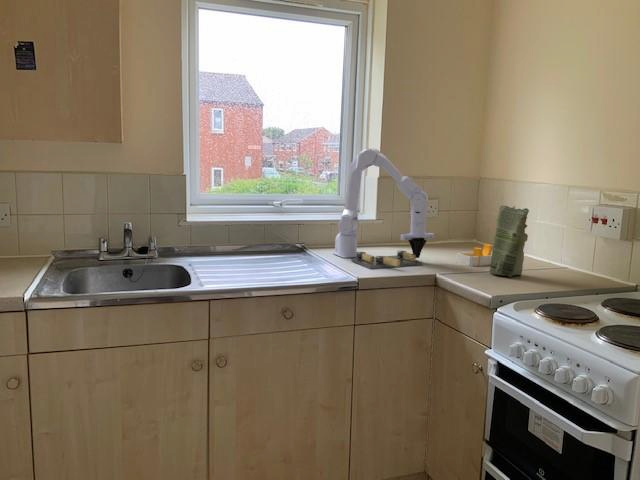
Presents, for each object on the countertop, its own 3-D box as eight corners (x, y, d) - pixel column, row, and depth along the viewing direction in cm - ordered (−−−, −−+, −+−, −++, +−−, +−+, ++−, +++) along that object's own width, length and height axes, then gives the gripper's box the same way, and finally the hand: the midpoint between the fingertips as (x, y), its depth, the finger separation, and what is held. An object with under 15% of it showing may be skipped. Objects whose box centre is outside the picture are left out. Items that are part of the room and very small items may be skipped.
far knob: (395, 256, 225) (395, 250, 225) (403, 255, 227) (403, 250, 226) (409, 261, 216) (410, 255, 216) (417, 260, 218) (417, 254, 218)
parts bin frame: (455, 261, 225) (456, 253, 225) (488, 259, 233) (488, 250, 232) (470, 266, 218) (471, 257, 217) (503, 263, 225) (504, 254, 224)
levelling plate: (351, 261, 220) (351, 255, 219) (401, 258, 230) (401, 252, 229) (370, 268, 207) (370, 263, 207) (422, 264, 217) (422, 259, 217)
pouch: (491, 270, 211) (496, 203, 207) (525, 274, 207) (531, 205, 203) (487, 276, 201) (493, 205, 197) (523, 280, 197) (530, 208, 193)
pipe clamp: (480, 259, 231) (481, 243, 230) (490, 260, 229) (492, 245, 227) (468, 263, 222) (469, 247, 221) (478, 265, 219) (480, 249, 218)
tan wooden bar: (354, 257, 220) (354, 252, 219) (362, 257, 221) (362, 251, 221) (367, 262, 211) (367, 256, 211) (376, 261, 213) (376, 256, 212)
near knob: (374, 262, 212) (374, 256, 211) (380, 261, 214) (380, 255, 214) (395, 266, 205) (395, 260, 205) (401, 265, 208) (401, 259, 207)
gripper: (408, 224, 213) (406, 260, 215) (440, 223, 219) (437, 258, 221) (398, 222, 219) (396, 257, 221) (428, 221, 225) (426, 254, 228)
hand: (416, 257), depth 222 cm, fingers closed
